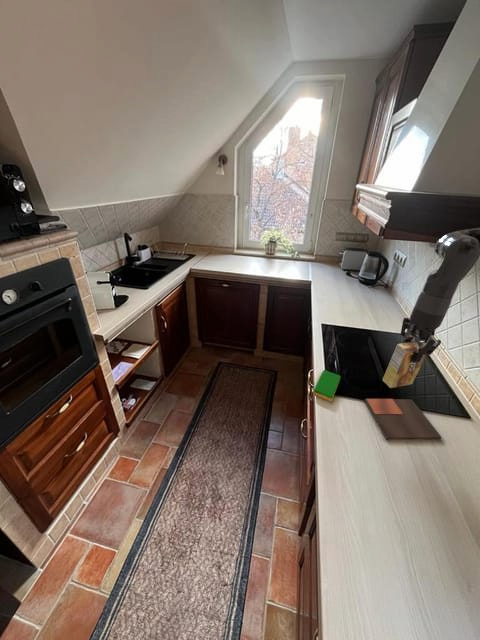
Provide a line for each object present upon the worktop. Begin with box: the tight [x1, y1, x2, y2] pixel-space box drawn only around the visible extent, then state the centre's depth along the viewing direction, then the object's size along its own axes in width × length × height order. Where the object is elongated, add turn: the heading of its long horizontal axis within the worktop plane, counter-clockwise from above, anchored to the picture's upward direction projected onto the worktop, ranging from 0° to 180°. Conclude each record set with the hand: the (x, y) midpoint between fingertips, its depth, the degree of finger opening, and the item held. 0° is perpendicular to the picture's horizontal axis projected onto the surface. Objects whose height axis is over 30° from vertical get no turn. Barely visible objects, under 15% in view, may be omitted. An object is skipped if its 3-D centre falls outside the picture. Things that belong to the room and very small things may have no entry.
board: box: [364, 398, 443, 440], centre depth 88 cm, size 18×16×1 cm
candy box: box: [382, 341, 428, 389], centre depth 81 cm, size 9×4×15 cm, turn 105°
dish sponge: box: [312, 369, 342, 402], centre depth 100 cm, size 7×14×2 cm, turn 149°
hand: (409, 355), depth 80 cm, fingers closed on candy box, 4 cm apart
